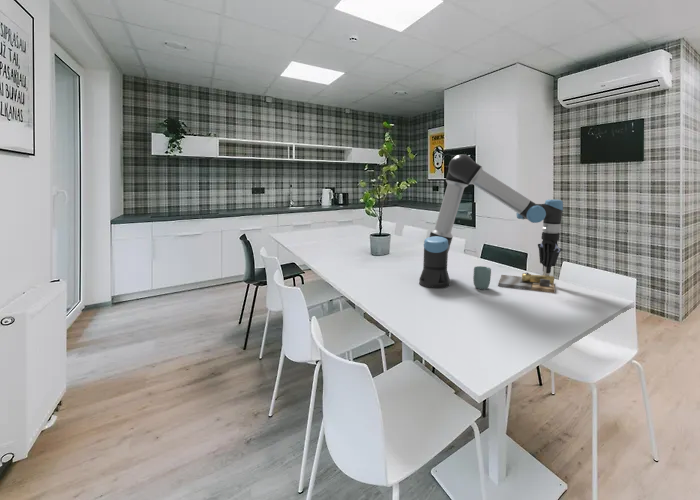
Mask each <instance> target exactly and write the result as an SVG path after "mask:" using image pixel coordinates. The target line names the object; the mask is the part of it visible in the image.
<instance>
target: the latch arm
mask: <svg viewBox="0 0 700 500" xmlns="http://www.w3.org/2000/svg"><path fill="white" fill-rule="evenodd" d="M521 277H522V281H523V282H540V279H547V280H550V283H554V284H555V276H553V275H549V276H548V275H543V274H531V273H529V272H523V273H522V274H521Z"/></svg>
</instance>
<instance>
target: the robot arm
mask: <svg viewBox="0 0 700 500" xmlns="http://www.w3.org/2000/svg"><path fill="white" fill-rule="evenodd" d="M448 163H449V164H448V170H447V174H446V177H445V182H446V185H447V186H446V188H445V190H444V191H445V192H444V196H443V199H442V202H441V206H440V208H439V209H440V210H439V212H438V216H437V220H436V223H435V227H434V228H433V229H431V231H430V234H429V236H428V237H426V238H424V241H423V268H422V271H421V274H420V277H419V279H418V280H419V285H420V284H421V286H423V287H426V288H430V289H431V288H432V289H443V288H445V289H446V288H448V287H450V285H451V279H450V276H449V273H448V272H449V271H448V260H449V259H448V257H449V255H448V254H449V251H450V248H451V244H452V241H453V237H454V236H453V234H452V231H453V227H454V224H455V220H456V218H457V214H458V210H459V206H460V204H461V201H462V198H463V194H464V190H465V188H467V187H469V185H473V186H475V187H477V188H478V189H479V190H481V191H483V192H484V193H486V194H488V196H490V197H492V198H493V199H495V200H497V201H498V202H499V203H501V204H503V205H505V206H506V207H508V208H509V209H510V210H512V211H514V212H515V213H516V218H517V219H519V220H528V221H529V222H530V223H532V224H533V223H534V224H535V223H536V224H538V223H541V222H542V232H541V243H538V244H537V248H538V255H539V263H540V264H542V275H548V276H551V275H550V274H551V271H552V268H553V267H556V264H557V260H558V258H559V256H560V253H561V251H562V250H563V249H562V248H559V247H558V246H559V245H558V241H560V236H561V233H560V232H561V229H562V218H563V211H564V202H563V200H561V199H546V200H545V202H544V203H535V202H533V201H532V200H530V199H529V198H527V196H525V195H523V194H521V193H519V192H518V191H517V190H516V189H513V188H511V187H510V186H508V185H507V184H506V183H504V182H502V181H501V180H499V179H498V178H496V177H495V176H493V175H491V174H490V173H488V172H486V171H485V170H484V168H483V166H481V165H480V164H478V162H476V161H475V160H473V158H471V157H470V156H469V155H467V154H463V153H462V154H457V155H455V156H454V157H453V158H451V159H450V161H449V162H448Z"/></svg>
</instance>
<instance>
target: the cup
mask: <svg viewBox="0 0 700 500" xmlns="http://www.w3.org/2000/svg"><path fill="white" fill-rule="evenodd" d="M491 276H492V268H491V267H489V266H483V265H480V266H474V267H473V285H474V287H475V288H476V289H477V290H478V289H479V290H486V289H488V288H489V287H490V284H491V279H492V278H491Z"/></svg>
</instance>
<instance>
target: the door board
mask: <svg viewBox="0 0 700 500" xmlns="http://www.w3.org/2000/svg"><path fill="white" fill-rule="evenodd" d="M497 286H498V287H500V288H501V287H502V288H503V287H504V288H511V289H518V290H525V291H535V292H543V293H544V292H545V293H553V294H555V292H556V289H555V282H554V283H550V280H547V279H540V282H523V281H522V276H517V275H511V274H510V275H509V274H501V275H500V278H499V280H498V283H497Z"/></svg>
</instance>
